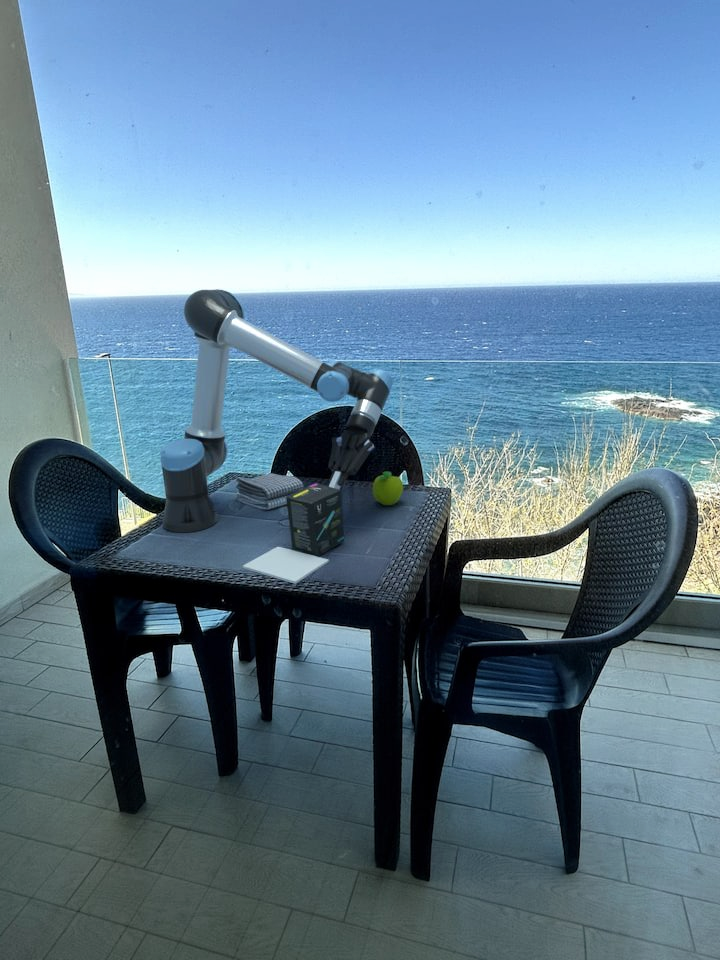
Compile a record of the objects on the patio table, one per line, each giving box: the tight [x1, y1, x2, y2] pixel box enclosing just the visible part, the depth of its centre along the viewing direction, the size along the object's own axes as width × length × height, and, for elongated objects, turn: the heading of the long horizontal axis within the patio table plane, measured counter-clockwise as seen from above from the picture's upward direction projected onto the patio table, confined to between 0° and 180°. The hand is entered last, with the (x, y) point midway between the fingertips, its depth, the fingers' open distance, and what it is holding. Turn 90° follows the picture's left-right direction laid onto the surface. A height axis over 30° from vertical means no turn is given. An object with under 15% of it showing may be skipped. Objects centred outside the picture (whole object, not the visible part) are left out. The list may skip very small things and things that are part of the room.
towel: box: [234, 472, 305, 511], centre depth 186 cm, size 15×18×8 cm
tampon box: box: [286, 483, 345, 557], centre depth 149 cm, size 11×9×15 cm
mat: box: [242, 546, 330, 585], centre depth 141 cm, size 16×13×1 cm
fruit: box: [372, 471, 404, 506], centre depth 179 cm, size 9×9×10 cm
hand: (330, 495), depth 153 cm, fingers closed
